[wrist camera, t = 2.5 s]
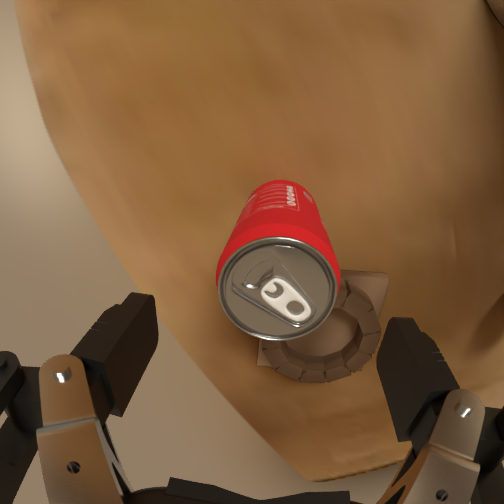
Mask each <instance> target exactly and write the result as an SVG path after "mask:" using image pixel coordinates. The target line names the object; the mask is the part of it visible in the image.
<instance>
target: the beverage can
mask: <svg viewBox="0 0 504 504" xmlns="http://www.w3.org/2000/svg"><path fill="white" fill-rule="evenodd" d="M340 277H341V273H340V269H339V265H338V262H337V260H336V257H335V254H334V251H333V248H332V246H331V243H330V240H329V238H328V235H327V232H326V230H325V227H324V224H323V222H322V219H321V216H320V214H319V211H318V209H317V206H316V204H315V201H314V199H313V198H312V196H311V195H310V193H309V192H308V191H307V190H306V189H305V188H303V187H302V186H300V185H298V184H296V183H294V182H291V181H286V180H275V181H270V182H267V183H265V184H263V185H261V186H260V187H258V188H257V189H256V190H255V191H254V192H253V193H252V194H251V196H250V197H249V199H248V201H247V203H246V205H245V207H244V209H243V211H242V213H241V215H240V217H239V219H238V221H237V223H236V226H235V228H234V230H233V232H232V234H231V236H230V238H229V240H228V242H227V244H226V246H225V248H224V251H223V253H222V255H221V257H220V259H219V262H218V266H217V271H216V285H217V290H218V296H219V300H220V304H221V306H222V308H223V310H224V312H225V314H226V315H227V317H228V318H229V319H230V320H231V322H232V323H233V324H235V325H236V326H237V327H238V328H239V329H241V330H242V331H244V332H246V333H247V334H249V335H252V336H254V337H257V338H260V339H264V340H271V341H285V340H292V339H296V338H299V337H302V336H304V335H307V334H309V333H310V332H312V331H314V330H315V329H316V328H318V327H319V326H320V325H321V324H322V323H323V322H324V321H325V320H326V319H327V317H328V316H329V315H330V313H331V311H332V309H333V307H334V305H335V301H336V297H337V295H338V291H339V286H340Z"/></svg>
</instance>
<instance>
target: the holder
mask: <svg viewBox="0 0 504 504" xmlns="http://www.w3.org/2000/svg"><path fill="white" fill-rule="evenodd" d="M340 273H341V277H340V286H339V291H338V295H337V297H336V301H335V305H334V307H333V309H332V311H331V313H330V315H329V316H328V317H327V319H326V320H325V321H324V322H323V323H322V324H321V325H320V326H319V327H318V328H316V329H315V330H314V331H312V332H310V333H309V334H307V335H304V336H302V337H299V338H296V339H292V340H285V341H271V340H264V339H260V338H259V349H258V360H257V365H259V366H270V367H272V368H273V369H274V368H276V371H277V372H279V373H281V374H283V375H285V376H287V377H289V378H291V379H293V380H295V381H297V380H298V379H299V378H300V382H310V383H324V382H325V378H326V380H327V382H331V381H334V380H337V379H340V378H343V377H346V376H349V375H351V371H352V372H354V373H355V372H356V371H361V370H362V367H363V365H364V364H365V363H366V362H367V361H368V360H369V359H370V358H371V357H372V355H371V354H374V353H375V350H376V347H377V344H378V341H379V338H380V336H381V331H380V330H381V328H380V324H379V321H378V319H379V316H380V312H381V309H382V306H383V302H384V298H385V295H386V291H387V287H388V284H389V280H390V279H389V277H388V275H387V274H386V273H375V272H362V271H350V270H340Z"/></svg>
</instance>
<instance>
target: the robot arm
mask: <svg viewBox="0 0 504 504" xmlns="http://www.w3.org/2000/svg"><path fill="white" fill-rule="evenodd" d="M486 1H487V3H488V4H489V6H490V8H491V10H492V11H493V13H494V14H495V16H496V17H497V19H498V20H499V22H500V23H501V24H502V25H503V26H504V0H486ZM157 344H158V324H157V316H156V307H155V299H154V297H153V295H148V294H141V293H134V292H132V293H130V294H129V295H128V297H127V298H126V299H125V300H124V302H123V303H122V304H121V305H119V304H116V305H114V306H113V307H111V308H109V309H107V310H106V311H104V313H103V314H102V315H101V316H100V317H99V319H98V320H97V322H95V323H94V325H93V326H92V327H91V329H89V331H88V332H87V333H86V335H85V336H84V337H83V338H82V339H81V341H80V342H79V343H78V344H77V346H76V347H75V348H74V350H73V351H72V352H71V353H70V354H69V355H67V354H65V355H58V356H54V357H52V358H50V359H48V360H47V361H46V362H45V363H43V365H42V366H41V367H26V366H25V367H24V366H21V365H20V362H19V360H18V358H17V356H16V355H15V354H14V353H12V352H9V351H1V352H0V415H1V414H2V412H3V411H5V413H6V414H7V416H8V417H7V419H6V420H5V422H4V424H3V425H2V427H1V428H0V504H12V503H13V501H14V498H15V496H16V494H17V491H18V489H19V487H20V485H21V483H22V481H23V479H24V477H25V474H26V472H27V470H28V468H29V466H30V464H31V462H32V460H33V458H34V456H35V454H36V452H37V450H38V451H39V457H40V463H41V468H42V474H43V479H44V483H45V487H46V492H47V497H48V500H49V504H362V503H358V502H354V501H350V494H349V491H337V492H305V493H300V494H296V495H290V496H285V497H279V498H273V499H267V500H257V499H252V498H250V497H246V496H243V495H240V494H237V493H234V492H231V491H228V490H226V489H223V488H220V487H217V486H215V485H209V484H203V483H198V482H192V481H187V480H182V479H177V478H173V477H170V479H169V483H168V486H167V487H152V488H146V489H141V490H137V491H133V489H132V486H131V484H130V482H129V481H128V478H127V477H126V474H125V472H124V470H123V468H122V465H121V462H120V460H119V457H118V455H117V452H116V449H115V446H114V444H113V441H112V438H111V435H110V432H109V429H108V426H107V424H106V420H107V418H108V416H109V414H112V415H115V416H119V417H122V416H123V414H124V412H125V410H126V408H127V406H128V403H129V401H130V399H131V397H132V395H133V393H134V391H135V389H136V387H137V385H138V383H139V381H140V379H141V377H142V375H143V373H144V371H145V369H146V367H147V365H148V363H149V361H150V359H151V357H152V355H153V354H154V352H155V350H156V347H157ZM377 371H378V374H379V377H380V380H381V383H382V386H383V390H384V393H385V396H386V400H387V403H388V406H389V410H390V413H391V417H392V420H393V424H394V428H395V431H396V435H397V439H398V442H403V441H411V442H412V445H413V446H412V447H411V449H410V450H409V451H408V453H407V455H406V457H405V459H404V461H403V463H402V464H401V466H400V468H399V470H398V472H397V474H396V475H395V477H394V479H393V480H392V482H391V484H390V485H389V487H388V489H387V490H386V492H385V493H384V494H383V496H382V497H381V498H380V500H379V501H378V502H377V503H376V504H469V502H471V504H504V468H503V465H502V461H503V460H504V406H503V408H502V409H498V408H490V407H484V404H483V402H482V400H481V399H480V398H479V397H478V396H477V395H476V394H475V393H473V392H471V391H469V390H465V389H460V387H459V385H458V383H457V381H456V379H455V378H454V376H453V374H452V372H451V370H450V368H449V366H448V365H447V363H446V361H444V357H443V356H442V354H441V353H440V350H439V349H438V347H437V345H436V343H435V342H434V340H432V339H431V338H430V337H429V336H428V335H427V334H426V333H424V332H421V331H420V329H419V327H418V326H417V324H416V322H415V321H414V319H413V318H401V317H392V318H391V319H390V320H389V322H388V325H387V328H386V331H385V334H384V337H383V340H382V343H381V345H380V348H379V351H378V354H377Z"/></svg>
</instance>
